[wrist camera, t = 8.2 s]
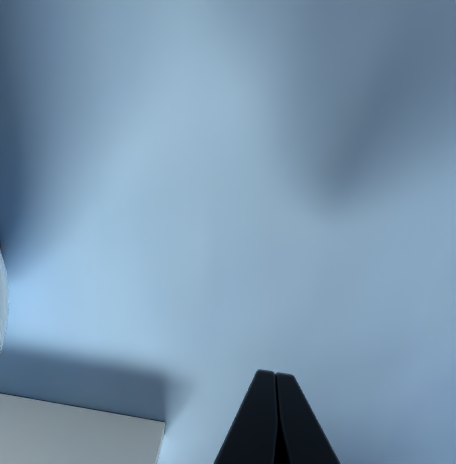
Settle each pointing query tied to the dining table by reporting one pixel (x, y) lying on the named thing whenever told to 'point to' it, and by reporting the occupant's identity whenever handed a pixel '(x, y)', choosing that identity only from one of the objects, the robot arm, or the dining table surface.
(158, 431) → the box
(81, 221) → the dining table surface
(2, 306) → the lidded jar
